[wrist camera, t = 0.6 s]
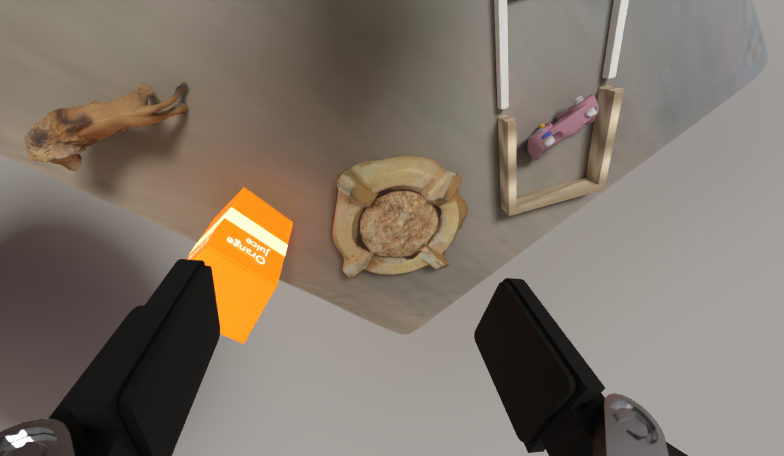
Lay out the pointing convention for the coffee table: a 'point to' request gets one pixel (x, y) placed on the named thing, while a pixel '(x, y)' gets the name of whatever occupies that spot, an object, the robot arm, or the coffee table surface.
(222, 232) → the orange juice
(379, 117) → the coffee table surface
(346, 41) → the coffee table surface
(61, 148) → the lion figurine
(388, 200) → the ashtray
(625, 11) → the white bay
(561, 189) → the wooden u-shaped frame
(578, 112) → the video game controller
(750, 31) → the coffee table surface
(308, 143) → the coffee table surface
